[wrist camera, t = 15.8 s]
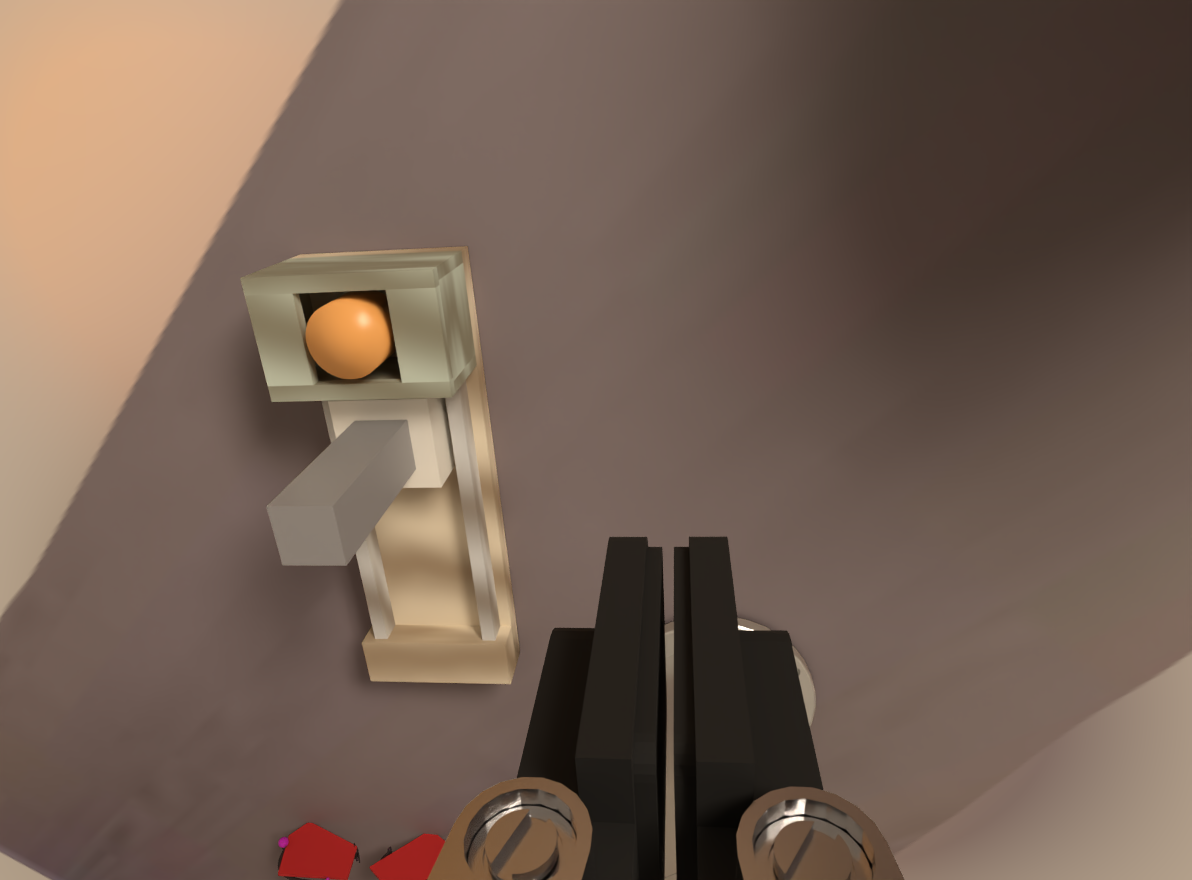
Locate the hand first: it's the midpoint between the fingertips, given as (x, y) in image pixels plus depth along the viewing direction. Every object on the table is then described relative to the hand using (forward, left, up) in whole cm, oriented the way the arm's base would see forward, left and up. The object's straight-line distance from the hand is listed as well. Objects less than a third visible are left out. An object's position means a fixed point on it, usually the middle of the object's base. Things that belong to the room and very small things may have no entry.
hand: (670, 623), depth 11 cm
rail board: (-12, +15, -29) cm, 35 cm away
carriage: (-8, +15, -27) cm, 32 cm away
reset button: (-2, +15, -26) cm, 30 cm away
